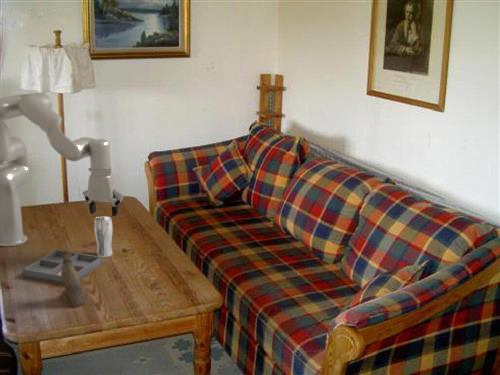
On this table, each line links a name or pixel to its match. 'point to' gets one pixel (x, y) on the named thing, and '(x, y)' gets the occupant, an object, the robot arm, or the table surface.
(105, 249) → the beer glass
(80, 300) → the brown carved statuette
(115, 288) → the table surface
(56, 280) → the gray compartment tray
